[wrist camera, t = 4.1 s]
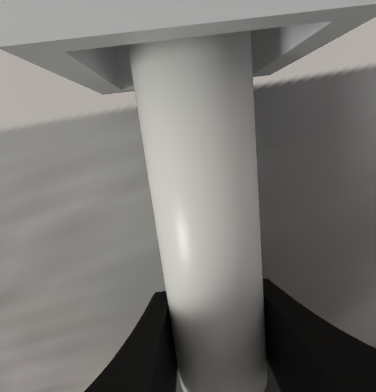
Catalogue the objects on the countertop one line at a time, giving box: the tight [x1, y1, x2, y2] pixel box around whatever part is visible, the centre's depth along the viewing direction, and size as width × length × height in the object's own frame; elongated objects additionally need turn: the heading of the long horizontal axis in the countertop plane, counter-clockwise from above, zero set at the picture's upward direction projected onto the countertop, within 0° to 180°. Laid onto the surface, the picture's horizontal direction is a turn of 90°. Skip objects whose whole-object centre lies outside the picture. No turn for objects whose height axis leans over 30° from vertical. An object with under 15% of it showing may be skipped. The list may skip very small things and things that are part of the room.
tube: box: [128, 31, 281, 392], centre depth 9 cm, size 18×4×4 cm, turn 7°
